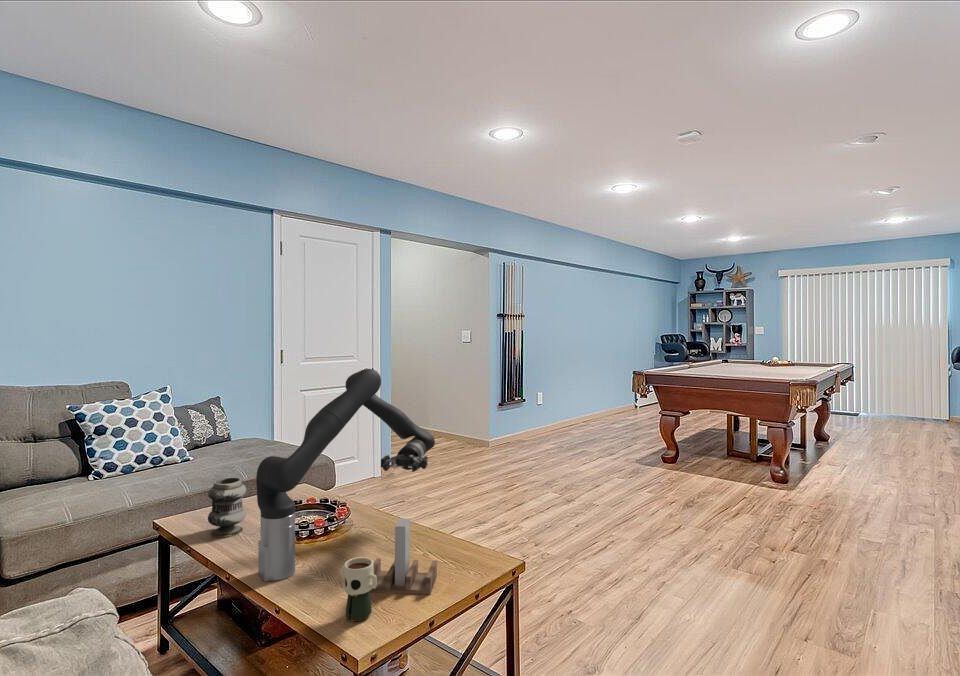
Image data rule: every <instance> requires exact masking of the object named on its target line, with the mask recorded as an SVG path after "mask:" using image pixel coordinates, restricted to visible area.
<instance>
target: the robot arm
mask: <svg viewBox="0 0 960 676" xmlns="http://www.w3.org/2000/svg"><path fill="white" fill-rule="evenodd" d="M381 378H382V377H381V374H380V373H379V372H378V371H377V370H375V369H373V368H364V369H362V370H359V371H357V372H355V373H352V374H351V375H349V376H348V377H347V379H346V381H345V391H344V392H342V393H341V394H340V395H338V396H337V397H336V398H333V399H332V400H331V401H329V402H328V403H327V404H326V405H324V406H323V407H322V408H321V409H320V410H319V411H318V412H317V413H316V414H315V415H314V416H313V417H312V418H311V419H310V420H309V421H308V423H307V425H306V427H305V431H304V435H303V436H304V437H303V441H302V443H301V444H300V445H299V446H298V447H297V449H296V450H295V451H294V452H293V453H292V454H291V455H290V456H288V457H283V456H282V457H281V456H277V455H276V456H275V455H271V456H267V457H265V458H263V459H262V460H261V462H260V463H259V465H258V467H257V470H256V471H257V472H256V477H255V482H256V485H255V487H256V498H257V499H256V502H257V505H258V508H259V511H260V540H258V545H257V546H258V547H257V551H258V553H257V554H258V561H257V562H258V566H257V567H258V568H257V570H258V572H257V573H258V576H259V577H260V578H261V579H262V580H263V582H264V581H265V583H266V582H270V581H273V582H274V581H280V580H284V579H287V578H290V577H291V576H293V575H294V574H295V573H296V543H295V537H296V532H295V527H296V504H295V503H296V502H295V501H294V500H293V499H292V498H291V497H290V496H289V495H288V494H287V492H291V491H293V490H294V489H295V488H296V487H297V486H298V485H299V483H300V482H301V481H302V479H303V478H304V476H305V475H306V474H307V472H308V471H309V470H310V468H311V467H312V465H313V464H314V463H315V462H316V460H317V459H318V457H320V455H321V454H322V453H323V452H324V450H326V448H327V447H328V446H329V444H330V443H331V442H333V440H335V439H336V437H337V436H338V435H339V434H340V433H341V431H342V430H343V429H344V428H345V427H346V425H347V424H348V423H349V422H350V421H351V420H352V418H353V417H354V416H355V415H356V413H357V411H359V409H360V408H361V407H362V406H363V407H365V408H366V409H367V410H369V411H370V412H371V413H373V414H374V415H375V416H377V417H378V418H379V419H380V420H381V421H383V422H384V423H385V424H386V425H387V426H388V427H389V428H390V430H392V431H393V432H394V433H395V435H397V437H399V438H400V439H402V440H406V439H409V438H411V437H413V438H411V439H410V440H409V441H408V442H407V443H406V444H405V445H404V446H402V448H401V449H400V450H399V451H398V452H397V454H396V455H395V456H390V455H388V454H387V455H385V456H383V457H382V458H381V459H380V468H382V470H383V471H384V472H387V471H389V470H390V469H398V468H401V469H403V470H406V471H407V470H408V471H411V472H413V473H415V472H416V471H418V470H420V468H421V469H423V470H425V469H426V468H427V466H428V464H429V463H428V458H429V457H428V456H427V455H426V453H428V452H429V451H430V450H432V448H433V447H434V446H435V445H436V441H435V436H433V435H432V434H431V433H430V432H429V431H428V430H425V429H424V428H422V427H421V426H419V425H417V424H415V422H413V421H412V419H410V418H409V417H408V415H406V413H405V412H403V411H402V410H401V409H400V408H397V407H396V406H394V405H393V404H390V403H388V402H387V401H385V400H383V399H382V398H381V397H379V396H378V395H377V393H378V391H379V390H380V388H381V385H382V379H381Z"/></svg>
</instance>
